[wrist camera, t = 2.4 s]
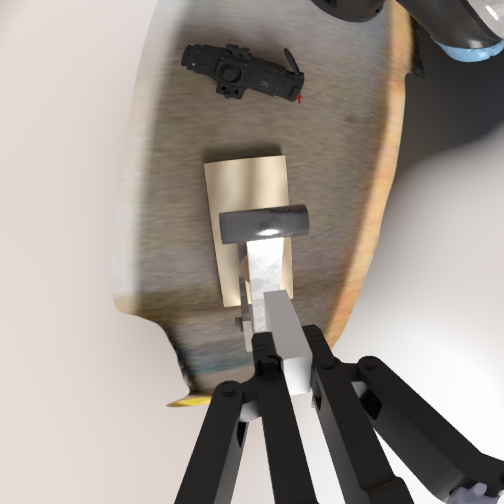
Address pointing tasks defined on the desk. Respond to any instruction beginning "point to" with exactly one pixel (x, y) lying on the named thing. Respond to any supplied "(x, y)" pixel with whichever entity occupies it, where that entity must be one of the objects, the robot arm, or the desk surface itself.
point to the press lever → (263, 246)
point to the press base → (244, 198)
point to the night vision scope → (244, 71)
